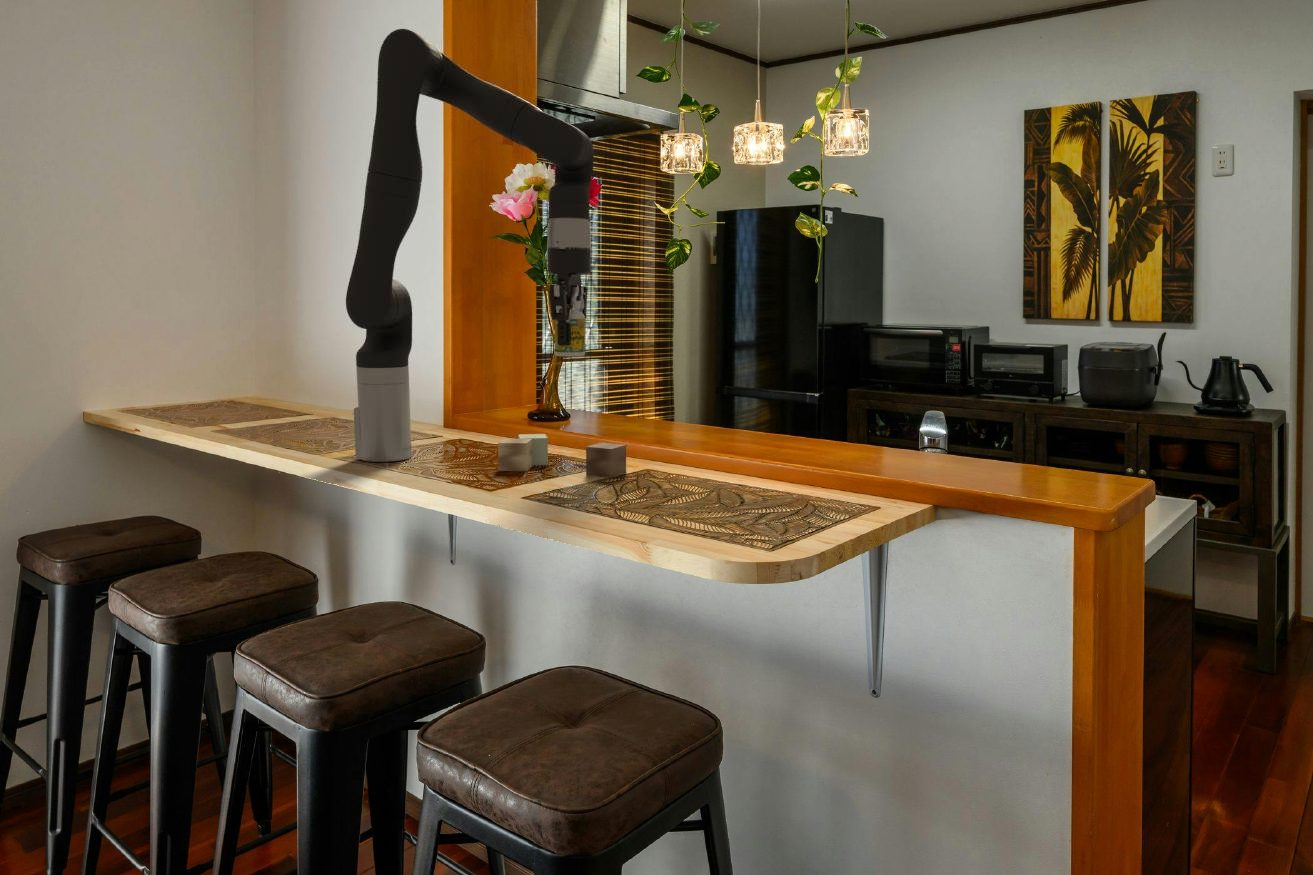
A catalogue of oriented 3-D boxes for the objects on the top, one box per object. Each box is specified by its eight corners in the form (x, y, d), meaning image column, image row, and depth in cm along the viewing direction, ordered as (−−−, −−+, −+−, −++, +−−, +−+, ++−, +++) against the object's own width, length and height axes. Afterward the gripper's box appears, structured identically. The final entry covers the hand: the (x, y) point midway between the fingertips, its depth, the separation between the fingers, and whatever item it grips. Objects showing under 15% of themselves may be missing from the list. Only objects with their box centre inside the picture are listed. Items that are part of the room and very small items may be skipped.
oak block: (498, 471, 158) (498, 442, 157) (504, 465, 163) (504, 438, 162) (526, 471, 158) (526, 443, 157) (532, 466, 163) (531, 438, 162)
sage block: (520, 466, 163) (519, 438, 162) (518, 461, 168) (518, 434, 167) (547, 465, 164) (547, 437, 163) (545, 460, 169) (545, 433, 168)
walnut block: (586, 475, 154) (586, 446, 154) (601, 470, 159) (601, 442, 158) (611, 478, 152) (611, 449, 151) (626, 473, 156) (626, 444, 156)
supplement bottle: (576, 354, 163) (576, 300, 161) (590, 356, 158) (590, 301, 157) (549, 355, 160) (548, 300, 158) (563, 357, 155) (563, 300, 154)
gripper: (562, 249, 164) (562, 342, 167) (533, 244, 150) (535, 346, 153) (601, 249, 162) (601, 343, 165) (577, 244, 148) (577, 347, 151)
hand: (569, 344), depth 159 cm, fingers closed on supplement bottle, 5 cm apart
